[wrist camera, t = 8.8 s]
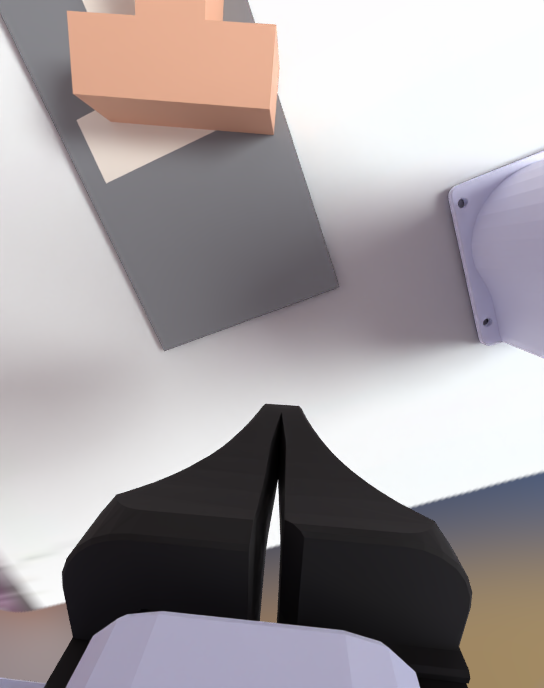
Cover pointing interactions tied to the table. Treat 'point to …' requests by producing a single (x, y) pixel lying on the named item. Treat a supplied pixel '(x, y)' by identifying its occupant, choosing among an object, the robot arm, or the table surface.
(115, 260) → the table surface
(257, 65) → the t block
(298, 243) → the t mat
